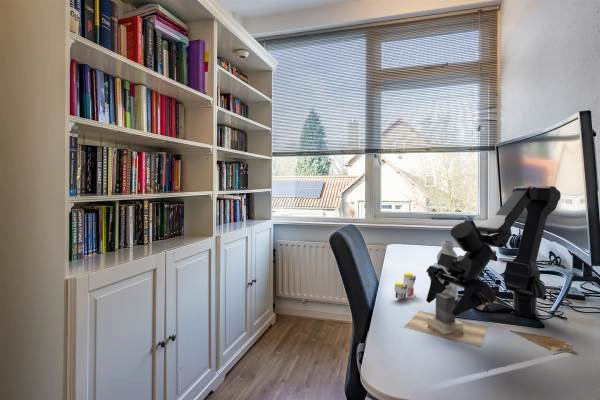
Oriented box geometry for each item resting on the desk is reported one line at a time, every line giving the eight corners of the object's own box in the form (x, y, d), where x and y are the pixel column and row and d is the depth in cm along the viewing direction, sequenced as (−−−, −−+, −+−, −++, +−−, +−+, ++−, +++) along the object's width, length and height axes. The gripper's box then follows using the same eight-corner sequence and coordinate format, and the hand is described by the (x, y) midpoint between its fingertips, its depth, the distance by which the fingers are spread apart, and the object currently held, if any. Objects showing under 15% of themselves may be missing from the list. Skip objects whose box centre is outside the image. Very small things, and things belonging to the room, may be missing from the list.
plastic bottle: (462, 303, 104) (463, 242, 103) (446, 306, 102) (447, 244, 101) (446, 297, 110) (447, 239, 109) (431, 299, 108) (432, 240, 107)
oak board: (419, 313, 96) (419, 310, 96) (488, 328, 85) (488, 326, 85) (403, 330, 85) (403, 327, 85) (480, 350, 74) (480, 347, 74)
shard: (509, 336, 83) (509, 329, 82) (532, 332, 85) (532, 325, 84) (552, 357, 72) (552, 349, 72) (577, 352, 74) (577, 344, 74)
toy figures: (403, 304, 103) (403, 279, 103) (391, 301, 107) (391, 276, 106) (420, 295, 112) (420, 272, 111) (408, 292, 115) (408, 270, 115)
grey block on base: (445, 322, 88) (446, 290, 87) (463, 332, 82) (463, 297, 81) (427, 325, 86) (428, 292, 85) (444, 335, 80) (444, 300, 80)
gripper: (431, 237, 93) (399, 278, 90) (487, 249, 75) (449, 301, 72) (453, 262, 96) (422, 302, 93) (511, 279, 78) (476, 330, 75)
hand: (439, 307), depth 83 cm, fingers open, 9 cm apart
